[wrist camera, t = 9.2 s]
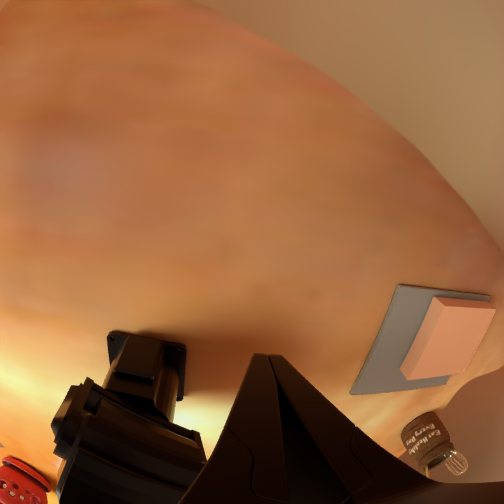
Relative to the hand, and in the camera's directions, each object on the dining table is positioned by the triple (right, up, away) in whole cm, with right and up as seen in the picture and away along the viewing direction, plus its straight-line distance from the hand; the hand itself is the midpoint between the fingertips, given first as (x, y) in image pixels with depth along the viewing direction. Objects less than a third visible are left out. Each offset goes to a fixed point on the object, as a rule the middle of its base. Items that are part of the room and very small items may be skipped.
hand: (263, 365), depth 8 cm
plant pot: (-45, -40, +23) cm, 65 cm away
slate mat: (+17, -6, +16) cm, 24 cm away
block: (+15, -5, +14) cm, 21 cm away
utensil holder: (+22, -21, +22) cm, 38 cm away
